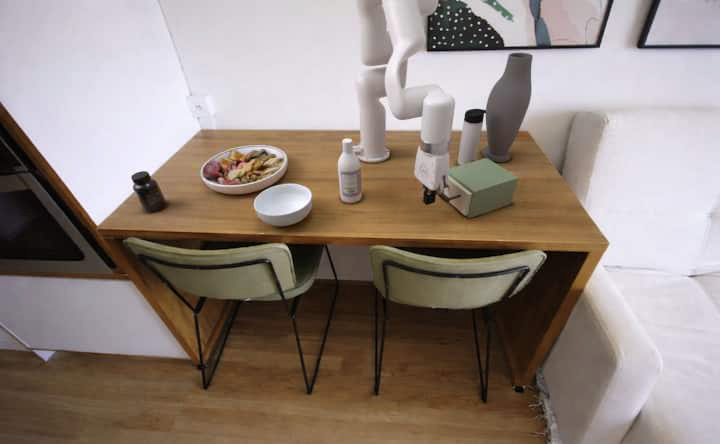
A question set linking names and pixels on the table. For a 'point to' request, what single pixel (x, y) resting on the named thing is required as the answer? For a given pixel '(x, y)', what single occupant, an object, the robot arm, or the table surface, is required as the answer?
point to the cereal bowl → (283, 204)
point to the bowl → (244, 169)
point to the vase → (508, 106)
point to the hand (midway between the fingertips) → (428, 202)
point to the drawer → (457, 196)
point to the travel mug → (470, 136)
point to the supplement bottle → (148, 192)
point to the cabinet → (485, 185)
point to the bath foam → (349, 174)
